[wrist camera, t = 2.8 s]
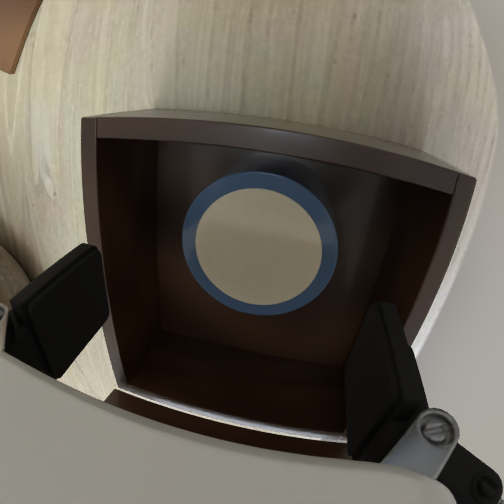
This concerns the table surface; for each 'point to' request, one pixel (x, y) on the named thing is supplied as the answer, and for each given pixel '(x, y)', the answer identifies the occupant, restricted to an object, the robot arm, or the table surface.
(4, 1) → the plate
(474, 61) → the table surface
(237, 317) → the chest
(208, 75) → the table surface
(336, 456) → the lid
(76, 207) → the table surface
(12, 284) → the bowl
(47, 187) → the table surface
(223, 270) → the blue beige short cylinder
